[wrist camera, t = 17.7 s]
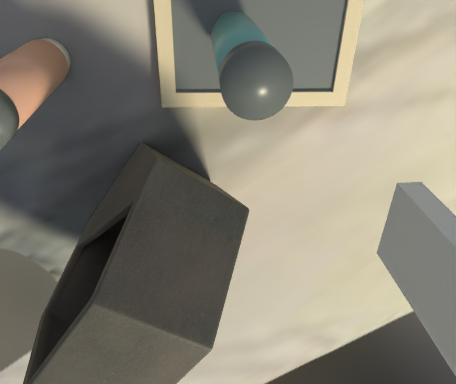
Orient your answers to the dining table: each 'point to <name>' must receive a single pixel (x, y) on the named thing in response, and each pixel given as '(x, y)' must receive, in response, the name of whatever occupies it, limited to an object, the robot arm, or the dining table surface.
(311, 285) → the dining table surface
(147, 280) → the planter
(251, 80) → the teal marker
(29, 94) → the coral marker
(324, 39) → the slate board
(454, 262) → the robot arm
